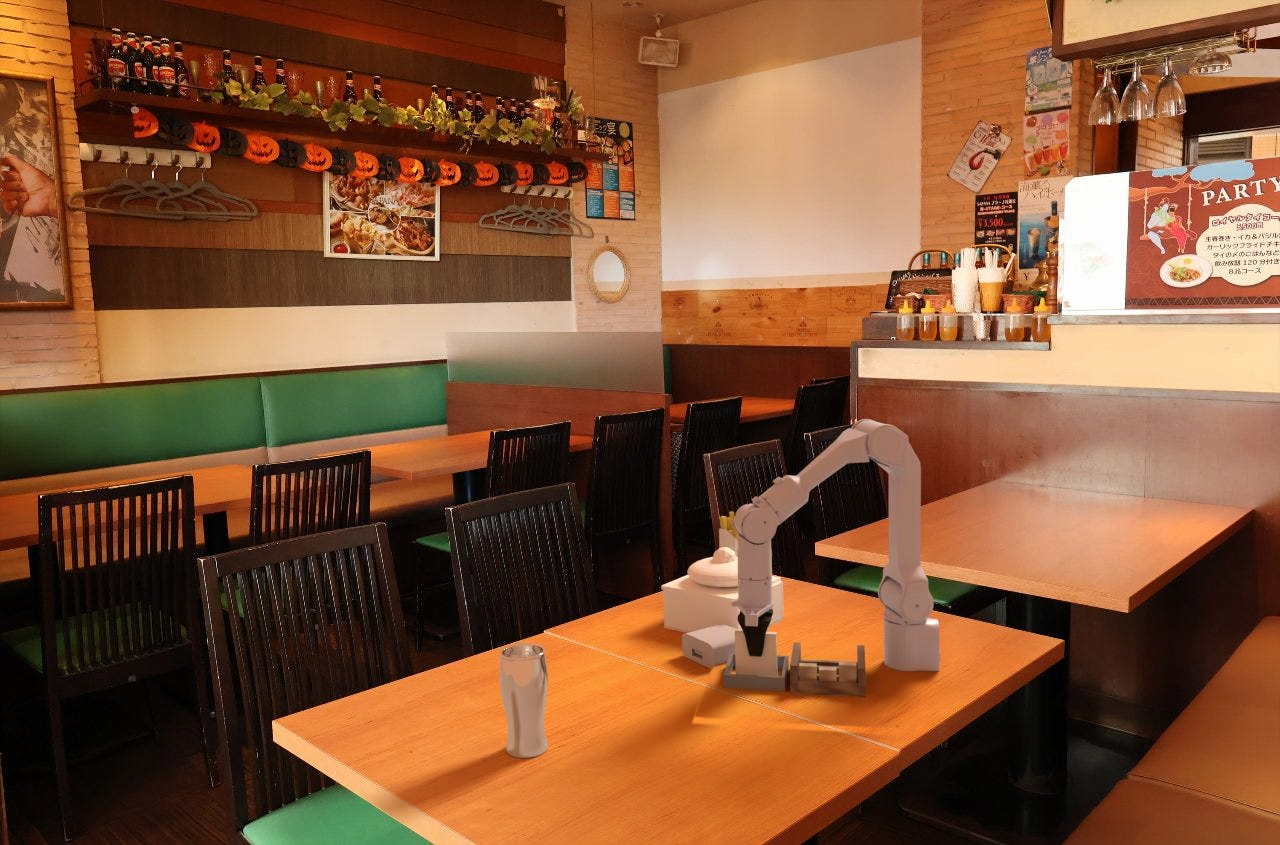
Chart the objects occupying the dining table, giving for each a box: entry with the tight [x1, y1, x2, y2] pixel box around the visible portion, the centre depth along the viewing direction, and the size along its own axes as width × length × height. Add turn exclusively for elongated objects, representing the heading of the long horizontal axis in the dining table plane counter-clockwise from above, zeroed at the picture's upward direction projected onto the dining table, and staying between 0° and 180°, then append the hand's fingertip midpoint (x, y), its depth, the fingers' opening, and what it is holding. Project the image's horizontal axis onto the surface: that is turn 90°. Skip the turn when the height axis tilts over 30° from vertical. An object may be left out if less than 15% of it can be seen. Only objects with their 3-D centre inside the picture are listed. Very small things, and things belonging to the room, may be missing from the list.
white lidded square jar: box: [660, 547, 784, 633], centre depth 196 cm, size 18×18×16 cm
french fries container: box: [718, 511, 738, 557], centre depth 219 cm, size 5×11×18 cm, turn 135°
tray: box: [722, 653, 790, 692], centre depth 165 cm, size 10×10×3 cm
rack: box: [789, 642, 867, 698], centre depth 163 cm, size 12×12×5 cm
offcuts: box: [799, 661, 857, 682], centre depth 159 cm, size 9×2×4 cm, turn 78°
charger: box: [681, 624, 743, 670], centre depth 180 cm, size 5×9×15 cm
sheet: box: [735, 631, 779, 676], centre depth 165 cm, size 7×1×8 cm, turn 78°
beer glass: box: [499, 642, 549, 759], centre depth 142 cm, size 7×7×15 cm
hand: (756, 653), depth 165 cm, fingers closed on sheet, 1 cm apart
